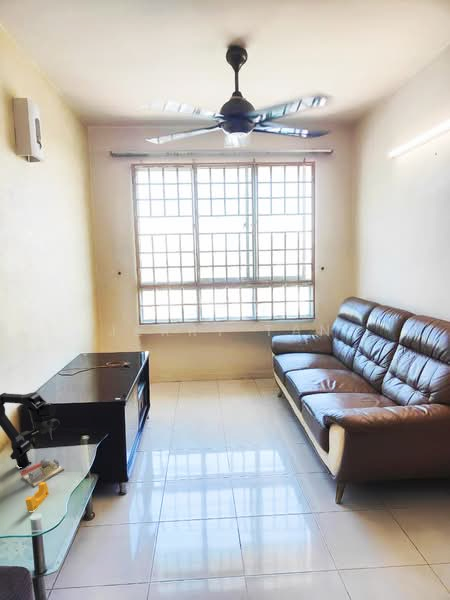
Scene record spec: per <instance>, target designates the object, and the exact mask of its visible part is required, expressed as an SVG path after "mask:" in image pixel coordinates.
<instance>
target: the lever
mask: <svg viewBox="0 0 450 600" xmlns="http://www.w3.org/2000/svg"><path fill="white" fill-rule="evenodd" d="M49 464H50V458H49V457H46V458H43V459H42V460H40V461H39V462H38V463H36V464H33V465H31V466H29V467H26V468H23V469H21V470H19V473H20V477H22V476H23V475H25V474H27V473H29V472H31V471H33V470H35V469H37V468H39V467H41V466H42V467H44V466H47V465H49Z"/></svg>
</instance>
